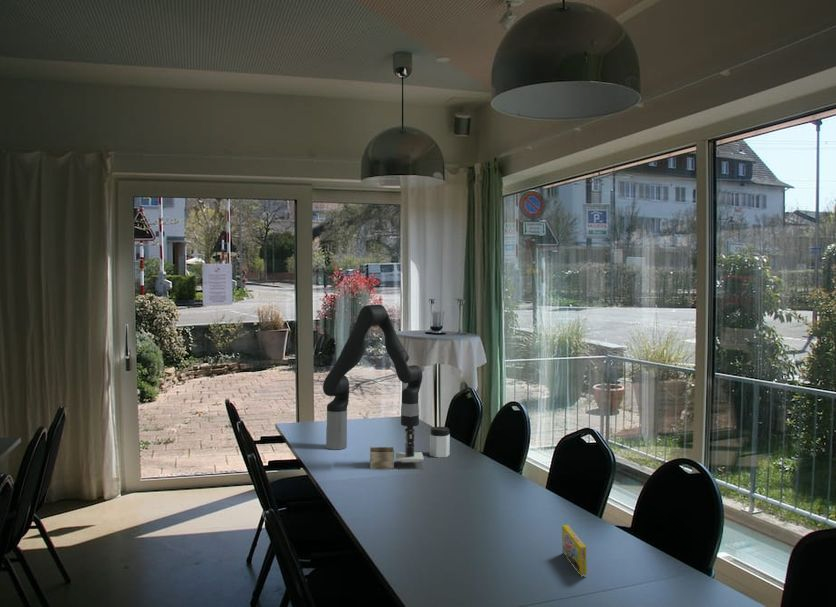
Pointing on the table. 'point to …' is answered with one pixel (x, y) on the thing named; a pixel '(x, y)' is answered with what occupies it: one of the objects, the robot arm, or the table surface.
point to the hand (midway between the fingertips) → (409, 454)
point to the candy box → (574, 549)
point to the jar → (439, 442)
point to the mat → (409, 465)
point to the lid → (404, 458)
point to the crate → (381, 457)
